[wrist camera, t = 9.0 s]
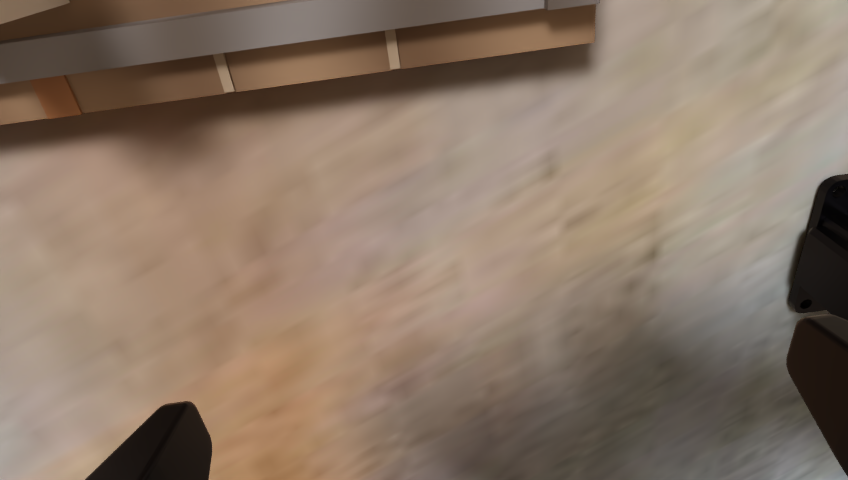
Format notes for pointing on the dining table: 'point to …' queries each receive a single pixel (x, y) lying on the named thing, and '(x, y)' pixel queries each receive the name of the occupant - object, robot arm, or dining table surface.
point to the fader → (25, 8)
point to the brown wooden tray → (252, 45)
